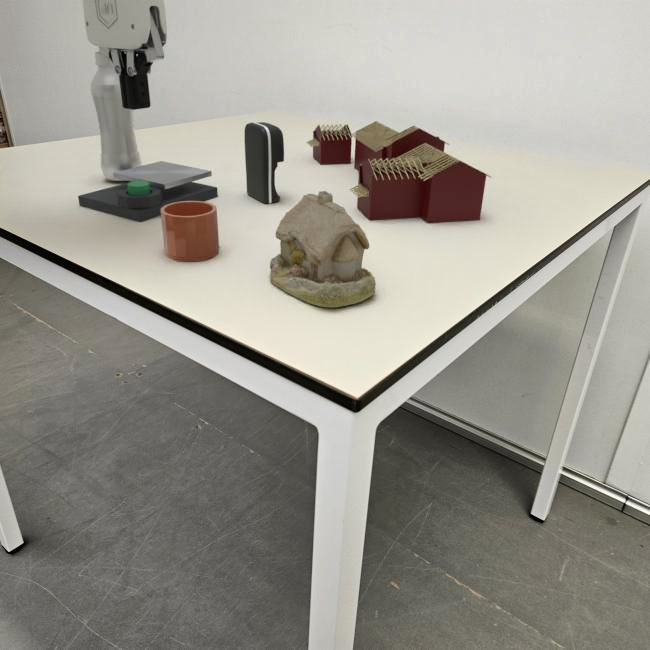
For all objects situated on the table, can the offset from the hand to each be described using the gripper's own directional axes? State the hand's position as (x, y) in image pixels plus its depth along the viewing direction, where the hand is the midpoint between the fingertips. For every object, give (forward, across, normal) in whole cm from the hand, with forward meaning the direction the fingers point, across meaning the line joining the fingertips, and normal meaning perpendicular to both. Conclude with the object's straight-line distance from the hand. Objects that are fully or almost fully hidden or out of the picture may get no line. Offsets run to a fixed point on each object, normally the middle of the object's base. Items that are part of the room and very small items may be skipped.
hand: (137, 107), depth 78 cm
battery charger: (+15, +6, +18) cm, 25 cm away
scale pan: (+12, -7, +9) cm, 16 cm away
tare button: (+12, -3, +1) cm, 13 cm away
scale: (+15, -7, +6) cm, 18 cm away
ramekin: (+15, +14, -5) cm, 21 cm away
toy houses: (+15, +15, +39) cm, 44 cm away
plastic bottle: (+15, -20, +12) cm, 28 cm away
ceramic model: (+15, +32, -3) cm, 35 cm away
